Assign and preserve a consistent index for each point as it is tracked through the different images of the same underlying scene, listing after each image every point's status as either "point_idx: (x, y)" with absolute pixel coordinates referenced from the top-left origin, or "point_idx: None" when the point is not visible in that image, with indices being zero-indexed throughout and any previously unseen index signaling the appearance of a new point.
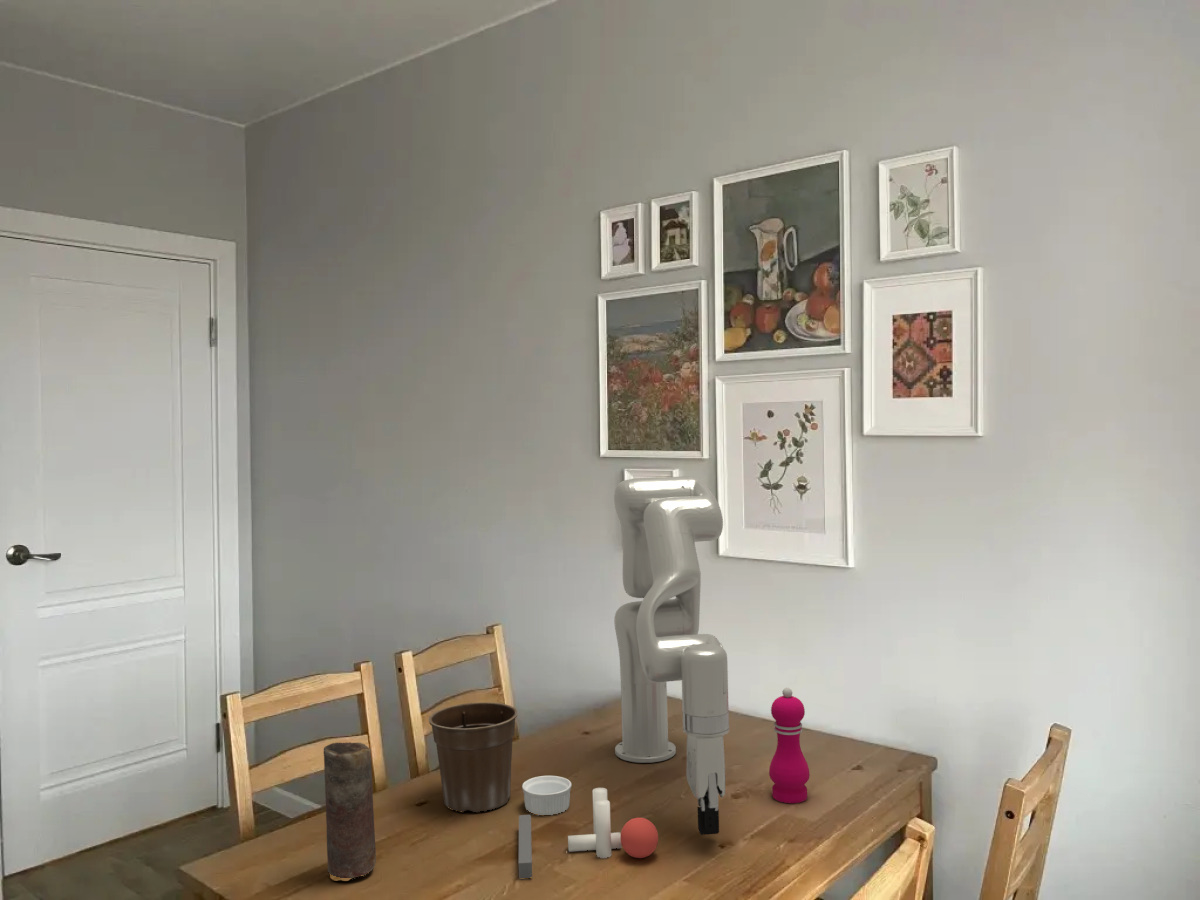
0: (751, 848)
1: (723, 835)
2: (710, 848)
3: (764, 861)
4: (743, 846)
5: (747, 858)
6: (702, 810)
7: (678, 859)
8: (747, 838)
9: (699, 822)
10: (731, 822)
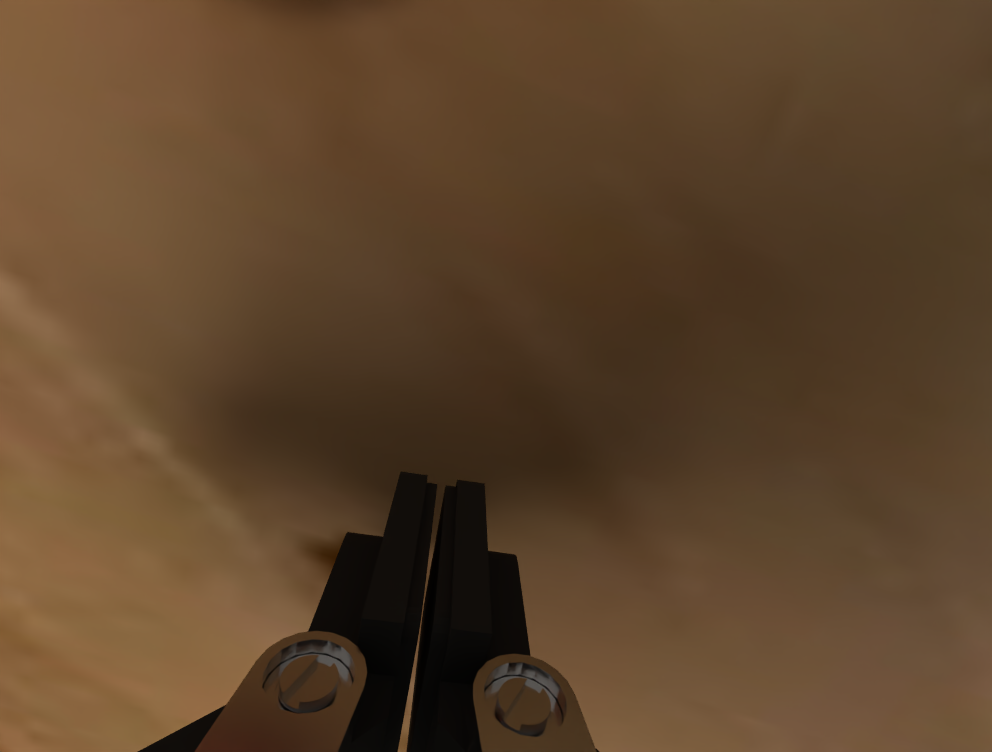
0: None
1: None
2: (320, 476)
3: (60, 707)
4: None
5: (117, 637)
6: (260, 663)
7: (177, 175)
8: (404, 720)
9: (391, 525)
10: (656, 709)
